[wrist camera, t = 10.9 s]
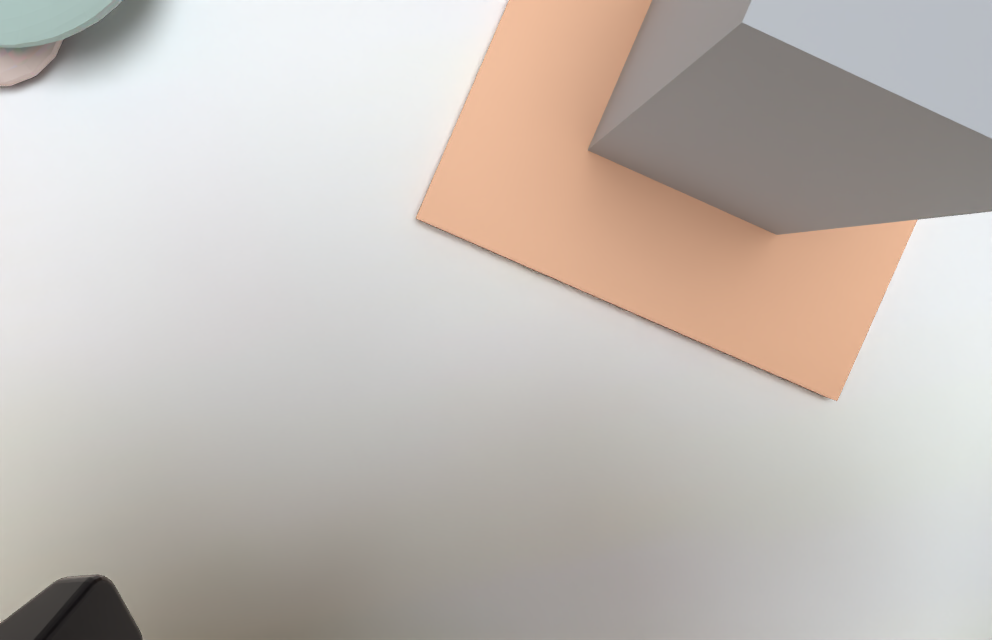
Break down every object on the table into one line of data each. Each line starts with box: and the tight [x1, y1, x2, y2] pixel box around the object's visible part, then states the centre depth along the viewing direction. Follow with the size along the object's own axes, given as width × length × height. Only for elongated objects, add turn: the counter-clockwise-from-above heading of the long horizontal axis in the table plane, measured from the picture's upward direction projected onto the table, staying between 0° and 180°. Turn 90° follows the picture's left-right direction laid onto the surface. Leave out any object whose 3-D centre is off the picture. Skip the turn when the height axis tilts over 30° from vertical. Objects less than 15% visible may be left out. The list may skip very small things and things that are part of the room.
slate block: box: [588, 0, 992, 235], centre depth 15 cm, size 4×4×10 cm
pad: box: [416, 0, 917, 401], centre depth 20 cm, size 10×10×1 cm
